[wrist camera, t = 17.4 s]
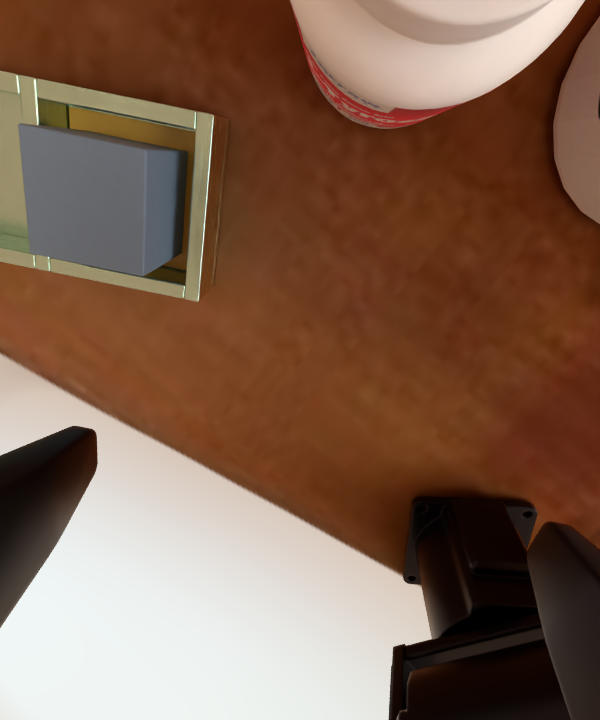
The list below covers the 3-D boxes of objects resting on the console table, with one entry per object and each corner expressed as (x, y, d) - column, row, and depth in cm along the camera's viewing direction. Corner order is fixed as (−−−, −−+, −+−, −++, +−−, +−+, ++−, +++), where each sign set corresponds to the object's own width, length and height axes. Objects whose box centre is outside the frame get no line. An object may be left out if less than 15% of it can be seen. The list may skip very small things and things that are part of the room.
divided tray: (230, 120, 16) (214, 114, 14) (214, 286, 19) (198, 302, 17) (-97, 52, 16) (-163, 37, 14) (-64, 230, 19) (-114, 239, 17)
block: (188, 151, 16) (146, 149, 13) (182, 254, 18) (143, 277, 15) (87, 130, 16) (16, 122, 13) (90, 235, 18) (28, 253, 15)
